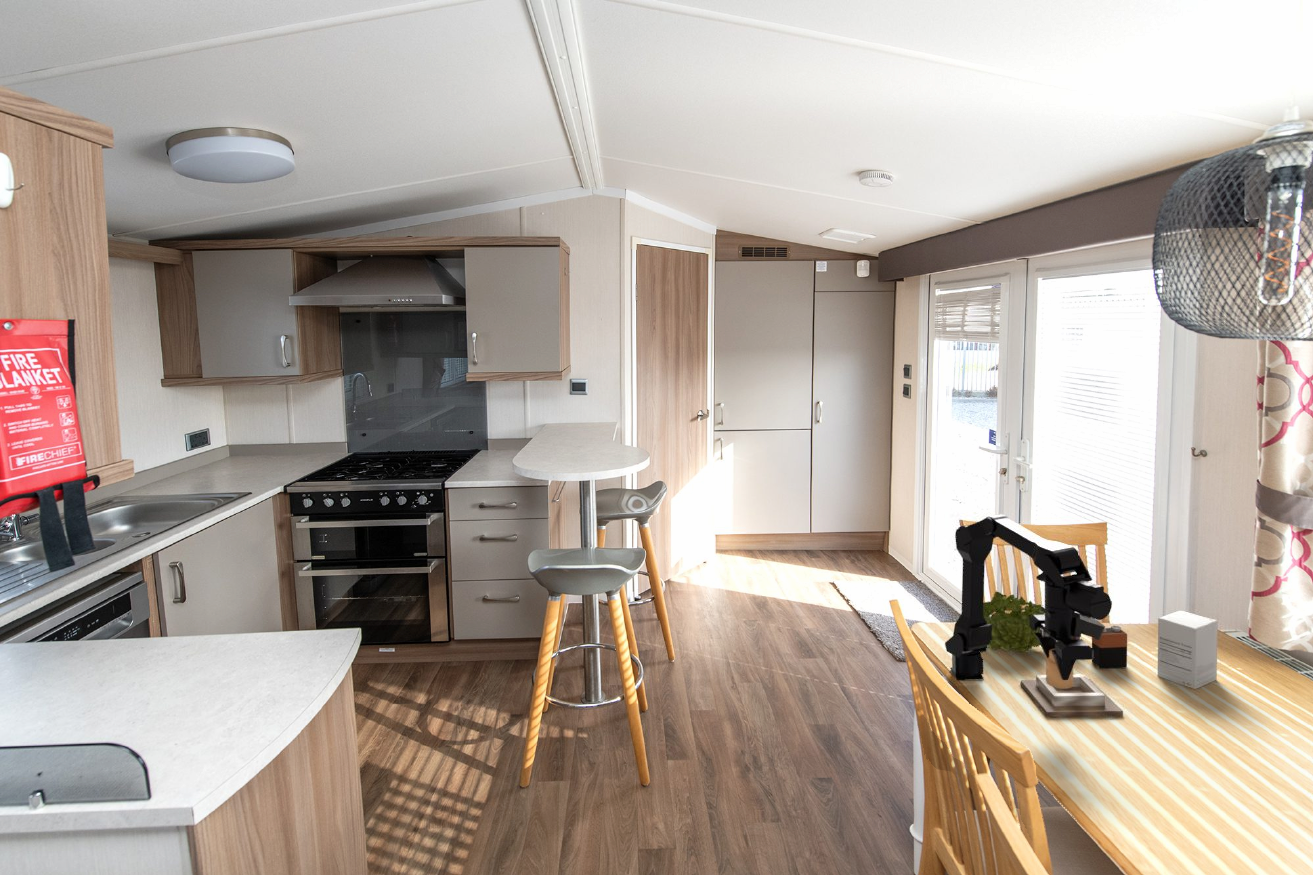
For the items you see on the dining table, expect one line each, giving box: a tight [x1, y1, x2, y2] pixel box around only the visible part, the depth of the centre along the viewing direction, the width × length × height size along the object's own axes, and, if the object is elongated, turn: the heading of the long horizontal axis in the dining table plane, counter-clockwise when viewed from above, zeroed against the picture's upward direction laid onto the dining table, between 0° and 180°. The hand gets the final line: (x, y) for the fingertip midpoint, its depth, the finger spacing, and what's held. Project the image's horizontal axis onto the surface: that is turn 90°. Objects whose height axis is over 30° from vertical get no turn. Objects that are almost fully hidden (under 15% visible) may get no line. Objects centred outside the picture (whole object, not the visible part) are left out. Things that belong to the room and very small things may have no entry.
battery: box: [1091, 625, 1128, 670], centre depth 194 cm, size 4×7×10 cm, turn 88°
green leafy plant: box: [983, 590, 1045, 654], centre depth 207 cm, size 18×16×16 cm
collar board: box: [1020, 673, 1124, 718], centre depth 179 cm, size 16×16×4 cm
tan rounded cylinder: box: [1045, 649, 1074, 689], centre depth 166 cm, size 5×5×7 cm
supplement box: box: [1157, 610, 1218, 690], centre depth 184 cm, size 9×9×15 cm
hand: (1059, 674), depth 166 cm, fingers closed on tan rounded cylinder, 5 cm apart
